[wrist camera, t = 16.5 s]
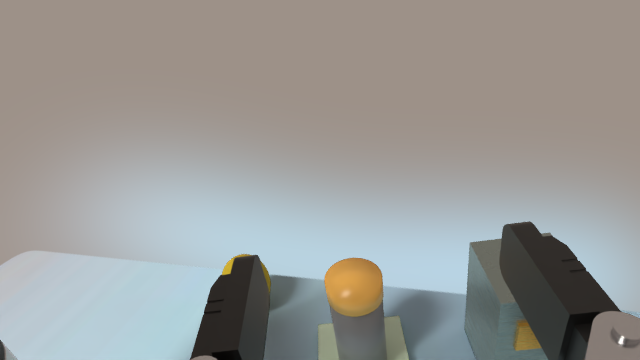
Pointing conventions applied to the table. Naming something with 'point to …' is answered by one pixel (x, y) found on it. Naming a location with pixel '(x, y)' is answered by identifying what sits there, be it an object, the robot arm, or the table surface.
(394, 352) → the pad
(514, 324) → the unit
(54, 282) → the table surface
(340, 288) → the cylinder
